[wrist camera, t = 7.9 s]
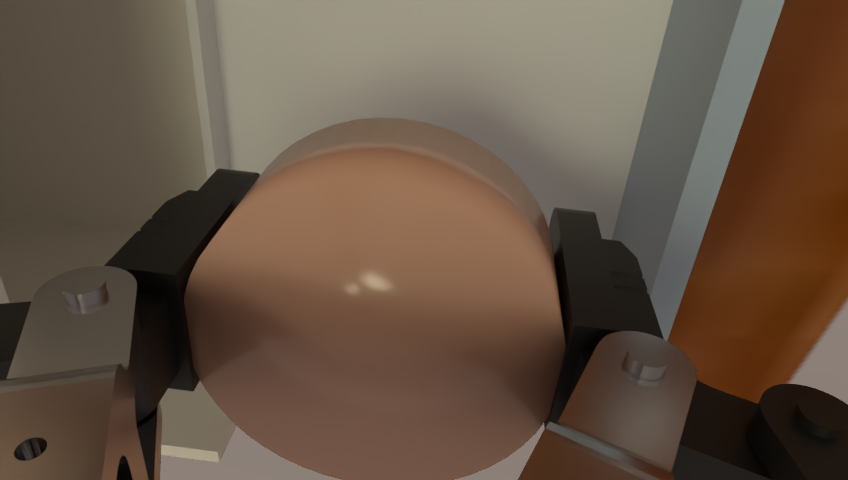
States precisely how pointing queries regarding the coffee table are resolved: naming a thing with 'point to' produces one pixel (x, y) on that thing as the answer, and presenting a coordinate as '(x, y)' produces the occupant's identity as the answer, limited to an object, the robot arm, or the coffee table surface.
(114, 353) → the robot arm
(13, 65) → the beige shelf
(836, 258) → the coffee table surface
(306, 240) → the tan dome knob
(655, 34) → the tray
